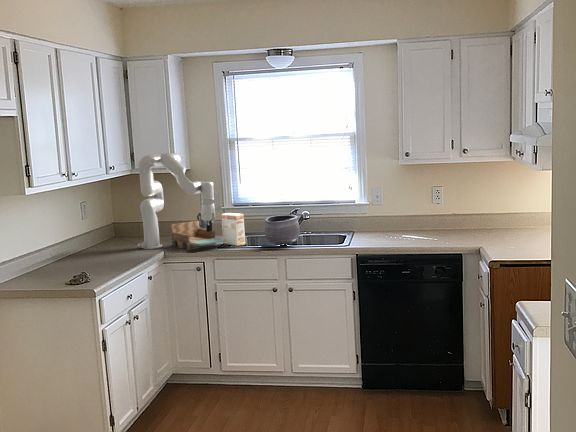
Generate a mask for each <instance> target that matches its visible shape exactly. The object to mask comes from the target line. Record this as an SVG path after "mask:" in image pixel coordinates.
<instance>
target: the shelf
mask: <svg viewBox="0 0 576 432" xmlns="http://www.w3.org/2000/svg"><path fill="white" fill-rule="evenodd" d="M199 221H200V220H199ZM199 221H198V220H194V221H188V222H187V221H186V222H181V223H173V224H171V226H170V227H171V228H170V229H171V239H172V240H171V245H172V247H174V248H180V249H182V250H193V249H200V248H205V247H211V246H212V245H202V246H198V245H192V244H190V242H194V241H200V240H206V239H212V238H216V231H215V230H212V231H211V232H207V231H206V229H201V228H202V227H200V226H199ZM215 245H217V243H216V244H214V245H213V246H215Z"/></svg>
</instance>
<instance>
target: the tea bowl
mask: <svg viewBox="0 0 576 432" xmlns="http://www.w3.org/2000/svg"><path fill="white" fill-rule="evenodd" d="M264 221H265V222H264V223H265V224H264V236H265V239H266V241H267V242H268V243H273V244H274V245H288V244H291V243H292V242H296V241H297V240H298V239H299V237H300V234H301V230H300V224H299V218H298V215H293V214H292V215H291V214H281V215H280V214H279V215H273V216H269V217H267V218H265V219H264Z"/></svg>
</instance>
